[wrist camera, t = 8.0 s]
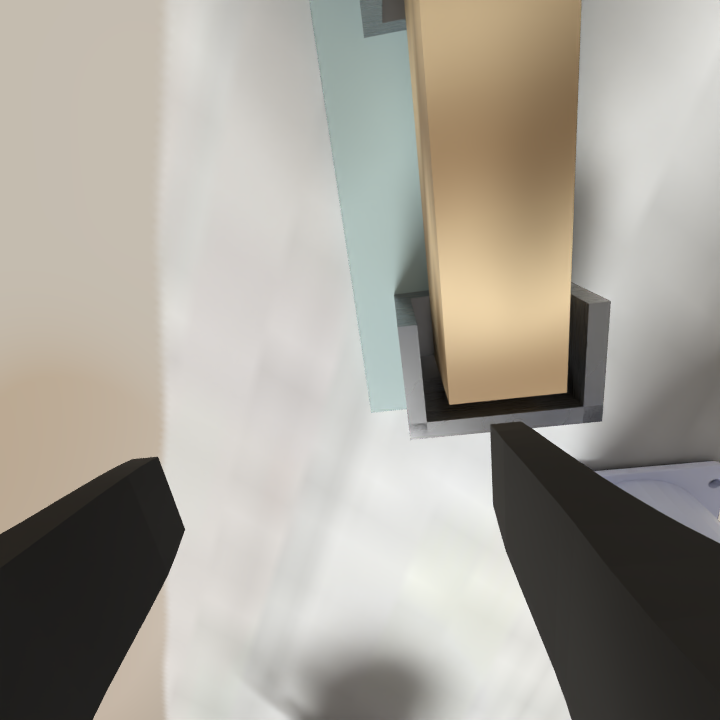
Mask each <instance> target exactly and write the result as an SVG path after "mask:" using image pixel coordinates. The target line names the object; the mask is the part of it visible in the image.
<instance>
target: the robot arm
mask: <svg viewBox="0 0 720 720" xmlns="http://www.w3.org/2000/svg"><path fill="white" fill-rule="evenodd" d="M490 432H491V459H492V487H493V506H494V510H495V514H496V517H497V521H498V525H499V528H500V532H501V535H502V539H503V542H504V546H505V549H506V552H507V555H508V557H509V560H510V562H511V565H512V567H513V570H514V572H515V575H516V577H517V580H518V582H519V585H520V587H521V590H522V592H523V595H524V597H525V600H526V602H527V604H528V607H529V609H530V612H531V614H532V617H533V619H534V622H535V624H536V626H537V629H538V631H539V634H540V636H541V639H542V641H543V644H544V646H545V648H546V651H547V653H548V656H549V658H550V661H551V663H552V666H553V668H554V670H555V673H556V676H557V679H558V681H559V684H560V687H561V690H562V692H563V695H564V698H565V700H566V703H567V706H568V710H569V713H570V716H571V719H572V720H720V521H719V520H718V516H719V511H720V463H719V462H717V461H708V462H696V463H685V464H673V465H661V466H649V467H638V468H626V469H614V470H602V471H593V470H591V469H590V468H588V467H587V466H585V465H584V464H582V463H581V462H579V461H578V460H576V459H575V458H573V457H572V456H570V455H569V454H567V453H566V452H564V451H563V450H562V449H560V448H559V447H557V446H556V445H554V444H553V443H552V442H550V441H549V440H547V439H546V438H545V437H543V436H542V435H540V434H539V433H538V432H536V431H535V430H533V429H532V428H530V427H529V426H527V425H526V424H524V423H523V422H521V421H519V422H509V423H498V424H490ZM711 480H713V481H712V482H710V481H711ZM709 482H710V483H709ZM184 531H185V528H184V525H183V523H182V520H181V517H180V515H179V512H178V509H177V507H176V504H175V501H174V498H173V496H172V493H171V490H170V488H169V485H168V482H167V480H166V477H165V474H164V472H163V469H162V466H161V464H160V461H159V458H158V457H150V458H140V459H132V460H130V461H128V462H125V463H123V464H121V465H119V466H117V467H115V468H113V469H111V470H109V471H108V472H106V473H104V474H102V475H100V476H99V477H97V478H95V479H93V480H92V481H90V482H88V483H87V484H85V485H83V486H81V487H80V488H78V489H76V490H75V491H73V492H71V493H70V494H68V495H66V496H64V497H63V498H61V499H59V500H58V501H56V502H54V503H53V504H51V505H50V506H48V507H46V508H44V509H43V510H41V511H40V512H38V513H36V514H34V515H33V516H31V517H29V518H28V519H26V520H25V521H23V522H21V523H19V524H17V525H16V526H14V527H12V528H10V529H9V530H7V531H5V532H3V533H2V534H0V720H93V718H94V716H95V713H96V712H97V710H98V708H99V705H100V703H101V701H102V699H103V697H104V695H105V693H106V691H107V689H108V687H109V686H110V684H111V682H112V680H113V678H114V676H115V674H116V672H117V671H118V669H119V667H120V665H121V663H122V661H123V659H124V657H125V656H126V654H127V652H128V650H129V648H130V646H131V644H132V643H133V641H134V639H135V637H136V635H137V633H138V631H139V629H140V628H141V626H142V624H143V622H144V620H145V618H146V616H147V615H148V613H149V611H150V609H151V607H152V605H153V603H154V601H155V599H156V597H157V595H158V593H159V591H160V590H161V588H162V586H163V584H164V582H165V580H166V578H167V576H168V574H169V571H170V569H171V566H172V564H173V561H174V559H175V556H176V554H177V551H178V548H179V545H180V542H181V539H182V537H183V534H184Z"/></svg>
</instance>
